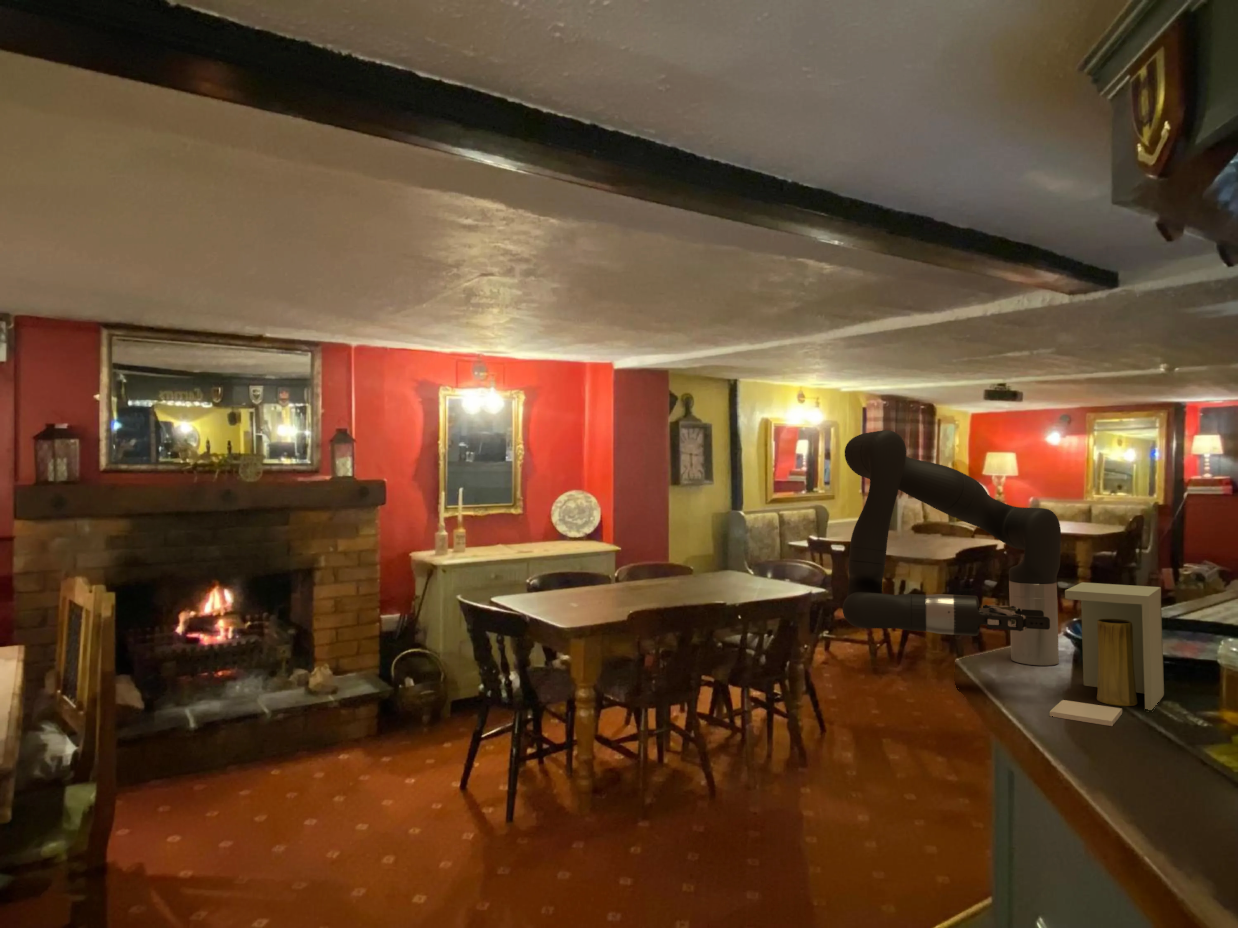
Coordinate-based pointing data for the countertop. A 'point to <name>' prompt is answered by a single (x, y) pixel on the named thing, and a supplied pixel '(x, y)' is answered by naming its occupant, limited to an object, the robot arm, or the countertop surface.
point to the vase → (1116, 663)
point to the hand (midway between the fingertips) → (1046, 619)
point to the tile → (1086, 712)
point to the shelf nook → (1147, 631)
